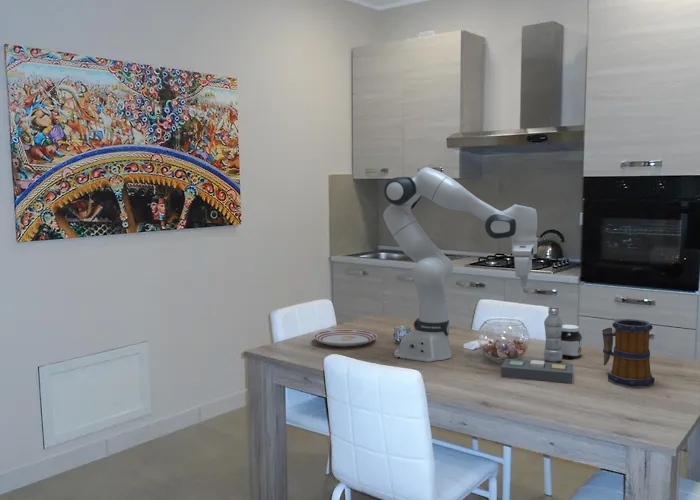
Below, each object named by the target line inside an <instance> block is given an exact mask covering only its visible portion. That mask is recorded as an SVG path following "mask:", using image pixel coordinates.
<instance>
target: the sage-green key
mask: <svg viewBox="0 0 700 500" xmlns="http://www.w3.org/2000/svg"><path fill="white" fill-rule="evenodd" d="M509 365H513V366H524V362H521V361H511V362H510V364H509Z"/></svg>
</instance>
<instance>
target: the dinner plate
mask: <svg viewBox="0 0 700 500" xmlns="http://www.w3.org/2000/svg"><path fill="white" fill-rule="evenodd" d="M343 336H354V337H356V338H353V339H352V340H350V341H342V340H341V338H342V337H343ZM312 337H313V339H314V340H315V341H317V342H319V343H321V344H324V345H326V344H327V345H326V346H329V345H331V346H330V347H333V346H344V347H343V348H346V347H345V346H356V347H358V346H357V345H361V346H363V345H362V344H364V345H365V344H368V343H370V342H373V341H374V340H376V339H378V335H377V334H376V333H374V332H372V331H370V330H369V331H367V330H363V329H354V328H353V329H346V328H345V329H344V328H341V329H340V328H339V329H329V330H323V331H318V332H316V333H314V334H313V335H312Z"/></svg>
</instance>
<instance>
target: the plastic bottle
mask: <svg viewBox="0 0 700 500" xmlns="http://www.w3.org/2000/svg"><path fill="white" fill-rule="evenodd" d="M547 314H548V315H547V316H546V317H545V319H544V321H543V322H544V323H543V325H544V333H545V344H544V350H543V357H544V361H545V362H552V363H560V362H561V361H562V360H563V358H562V357H563V354H562V348H561V332H562V326H563V325H564V324H563V323H564V322H563V320H562V318H561V316H559V314H560V308H558V307H549V308H548V312H547Z"/></svg>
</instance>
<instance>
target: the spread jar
mask: <svg viewBox="0 0 700 500" xmlns="http://www.w3.org/2000/svg"><path fill="white" fill-rule="evenodd" d="M579 330H580V327H579V326H578V325H574V324H563V326H562V332H561V348H562V354H563V357H562V359H569V360H572V359H573V360H574V359H578V358H579V357H580V356H581V354H582V352H583V351H582V350H583V336H582V334H581V332H580V331H579Z"/></svg>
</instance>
